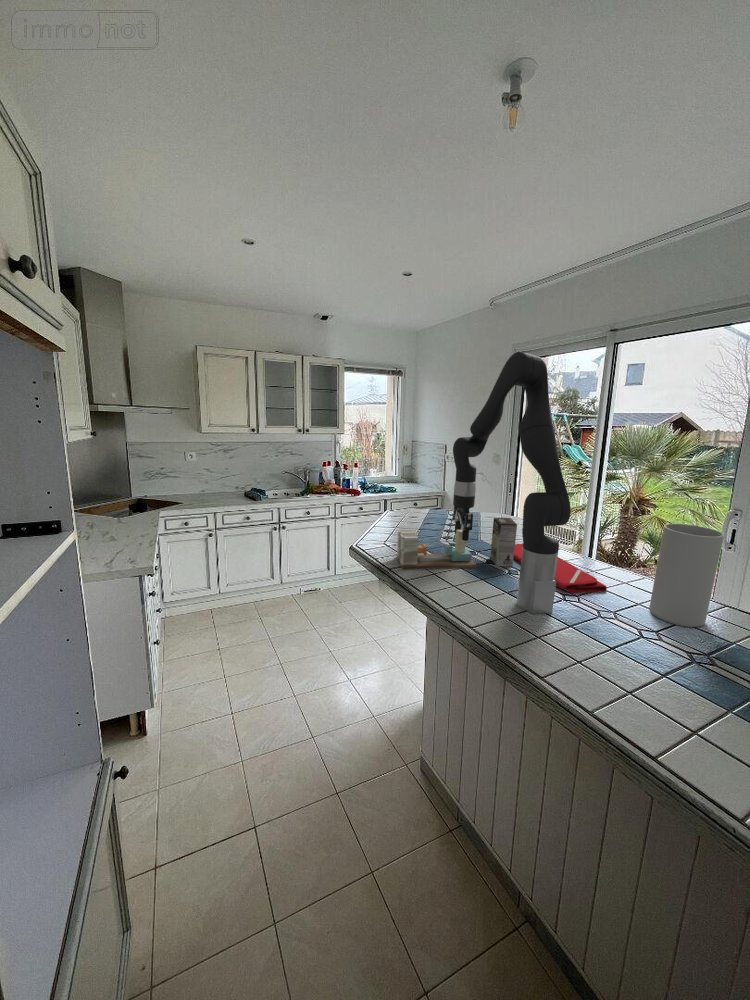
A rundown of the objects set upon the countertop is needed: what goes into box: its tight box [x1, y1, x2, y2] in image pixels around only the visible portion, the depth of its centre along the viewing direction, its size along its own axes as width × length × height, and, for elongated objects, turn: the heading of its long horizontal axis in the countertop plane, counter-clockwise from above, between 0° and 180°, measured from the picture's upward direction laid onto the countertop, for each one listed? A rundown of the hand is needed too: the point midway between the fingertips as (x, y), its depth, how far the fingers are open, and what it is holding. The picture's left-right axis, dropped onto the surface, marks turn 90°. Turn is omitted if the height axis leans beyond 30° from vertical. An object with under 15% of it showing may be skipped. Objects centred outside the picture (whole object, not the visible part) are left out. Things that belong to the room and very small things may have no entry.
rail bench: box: [396, 530, 478, 570], centre depth 146 cm, size 12×27×11 cm, turn 97°
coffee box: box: [490, 517, 518, 567], centre depth 148 cm, size 9×6×16 cm
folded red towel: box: [513, 543, 608, 594], centre depth 144 cm, size 16×41×4 cm, turn 10°
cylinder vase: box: [649, 523, 725, 628], centre depth 108 cm, size 12×12×25 cm
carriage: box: [443, 529, 473, 561], centre depth 147 cm, size 6×9×11 cm, turn 97°
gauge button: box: [418, 543, 428, 555], centre depth 146 cm, size 3×6×3 cm, turn 97°
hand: (461, 536), depth 147 cm, fingers open, 8 cm apart
